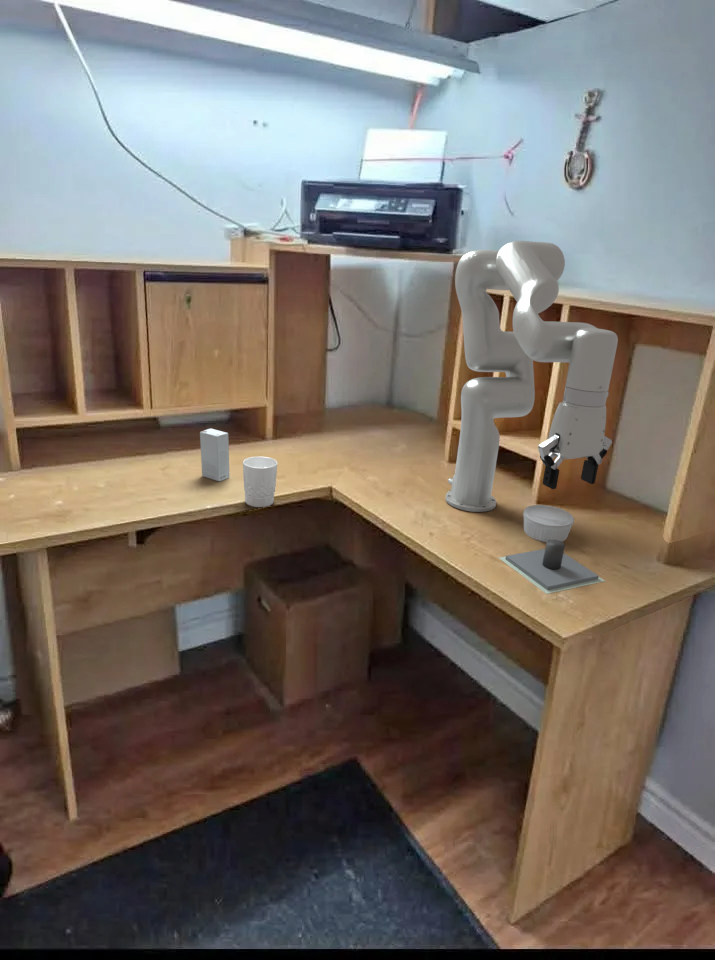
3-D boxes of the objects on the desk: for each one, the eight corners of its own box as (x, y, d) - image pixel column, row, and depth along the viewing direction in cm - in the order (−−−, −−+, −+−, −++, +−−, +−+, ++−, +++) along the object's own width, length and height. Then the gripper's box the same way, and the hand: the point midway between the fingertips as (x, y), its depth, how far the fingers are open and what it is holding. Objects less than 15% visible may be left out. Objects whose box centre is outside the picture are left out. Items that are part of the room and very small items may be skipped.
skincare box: (230, 477, 170) (230, 432, 166) (218, 482, 167) (218, 436, 162) (212, 471, 173) (211, 427, 169) (200, 476, 169) (199, 431, 165)
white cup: (266, 511, 153) (266, 470, 149) (236, 504, 155) (236, 463, 152) (282, 499, 160) (283, 460, 156) (253, 492, 162) (253, 454, 159)
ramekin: (531, 547, 145) (535, 525, 144) (512, 525, 156) (516, 504, 154) (578, 546, 147) (583, 525, 145) (557, 524, 158) (561, 504, 156)
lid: (505, 559, 138) (509, 534, 136) (553, 550, 143) (558, 525, 141) (547, 590, 127) (552, 563, 125) (597, 579, 133) (603, 553, 130)
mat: (498, 559, 138) (498, 557, 138) (553, 549, 145) (554, 547, 145) (546, 596, 126) (546, 593, 126) (604, 583, 132) (605, 580, 132)
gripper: (604, 391, 129) (588, 473, 135) (534, 394, 122) (520, 482, 128) (634, 400, 123) (616, 486, 129) (562, 404, 116) (546, 496, 122)
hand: (568, 484), depth 128 cm, fingers open, 9 cm apart
